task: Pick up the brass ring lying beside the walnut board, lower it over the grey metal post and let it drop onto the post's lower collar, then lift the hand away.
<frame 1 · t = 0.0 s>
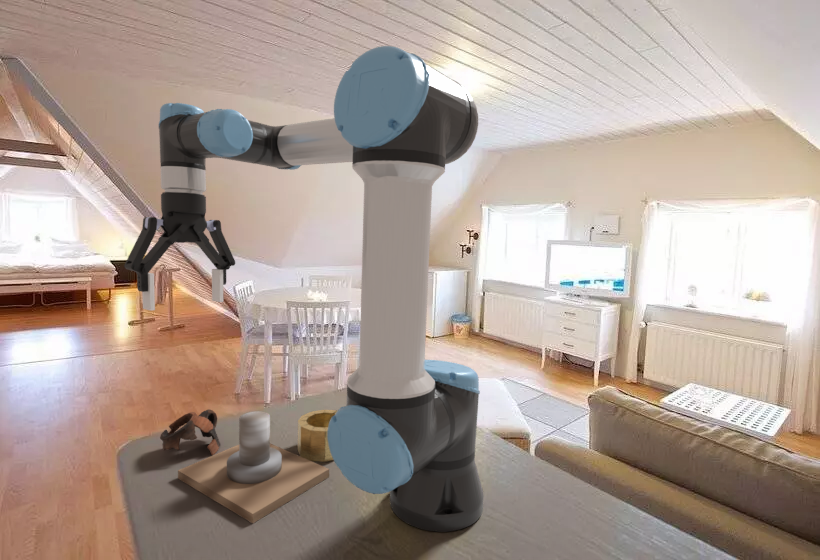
hand: (185, 305, 87), 28 cm above the table, tool pointing down, fingers open, 13 cm apart
brass ring: (324, 448, 90), on the table
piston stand: (254, 477, 79), on the table
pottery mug: (195, 449, 89), on the table
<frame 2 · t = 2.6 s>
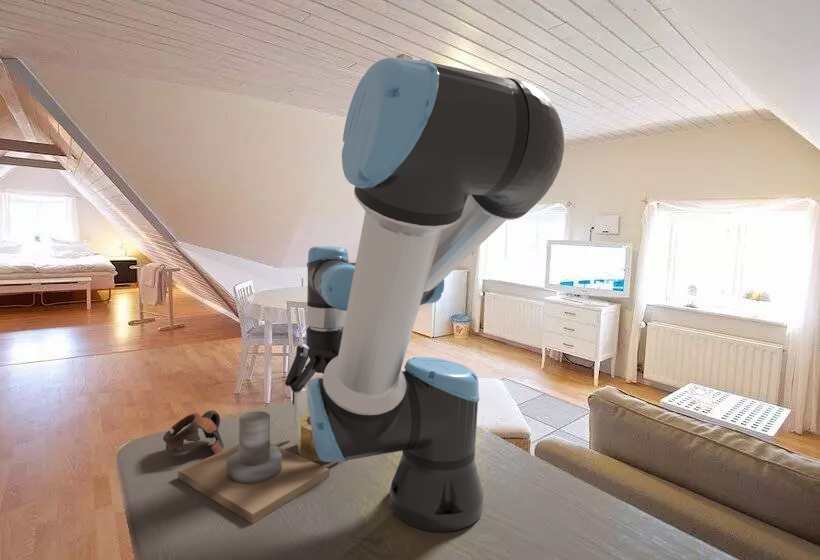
hand: (323, 430, 91), 4 cm above the table, tool pointing down, fingers open, 13 cm apart
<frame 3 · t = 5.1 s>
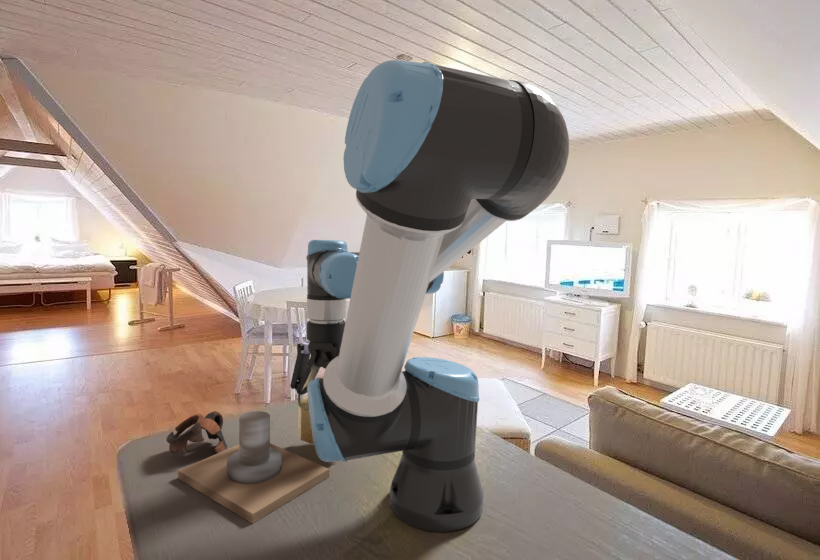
hand: (325, 431, 89), 4 cm above the table, tool pointing down, fingers closed on brass ring, 10 cm apart
brass ring: (324, 432, 89), point 4 cm above the table, touching gripper
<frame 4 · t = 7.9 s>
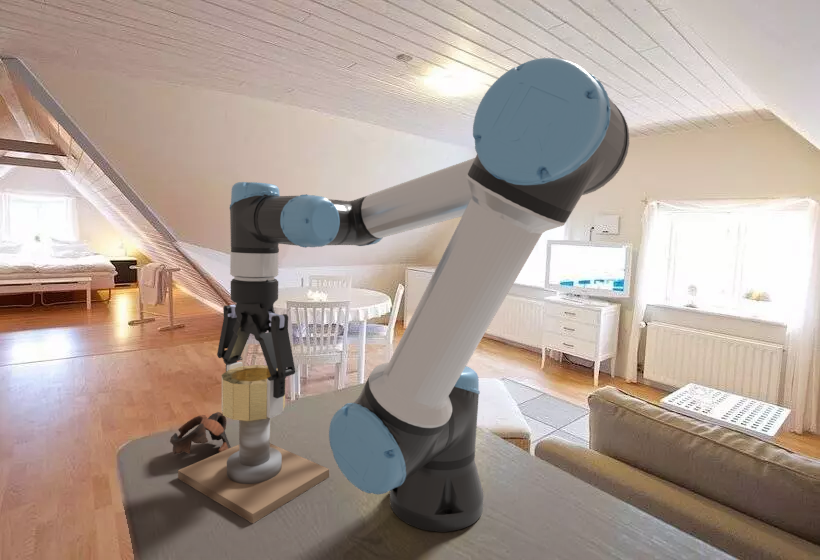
hand: (254, 406, 78), 13 cm above the table, tool pointing down, fingers closed on brass ring, 10 cm apart
brass ring: (253, 408, 78), point 13 cm above the table, touching gripper
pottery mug: (205, 452, 88), on the table, touching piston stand
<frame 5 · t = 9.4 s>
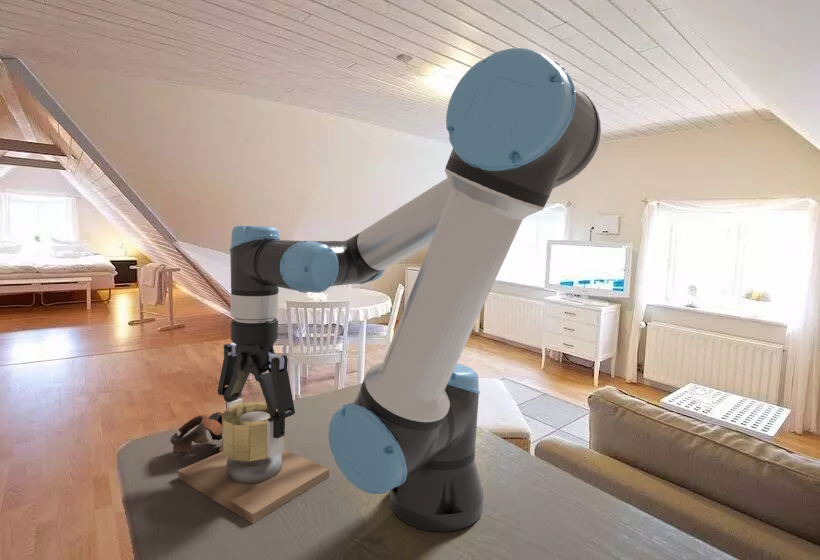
hand: (254, 444, 78), 6 cm above the table, tool pointing down, fingers closed on brass ring, 10 cm apart
brass ring: (253, 446, 78), point 6 cm above the table, touching gripper
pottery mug: (206, 452, 88), on the table
when the fingers open (4 cm above the table, at t = 10.8 s): brass ring stays where it is, resting on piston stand.
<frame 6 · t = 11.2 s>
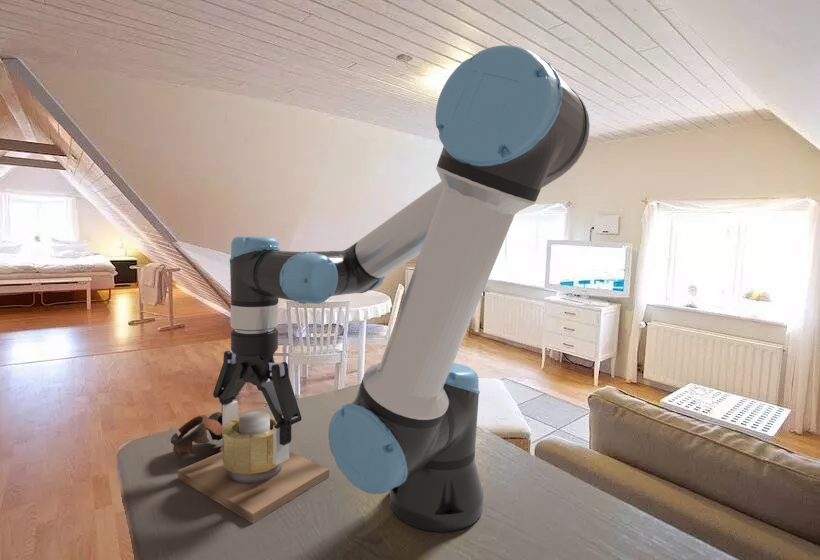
hand: (254, 449, 78), 5 cm above the table, tool pointing down, fingers open, 13 cm apart
brass ring: (254, 458, 79), point 3 cm above the table, touching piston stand
everything else where it was.
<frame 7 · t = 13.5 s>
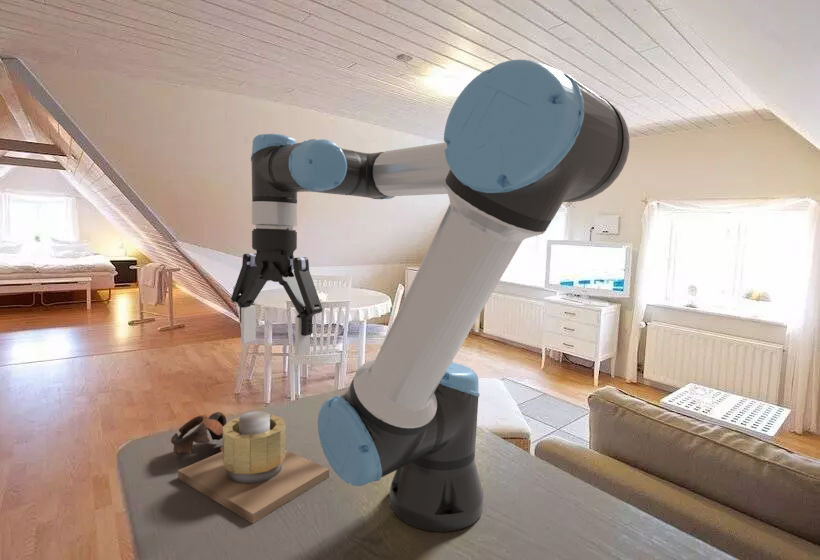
hand: (274, 347, 81), 22 cm above the table, tool pointing down, fingers open, 13 cm apart
nothing on the table moved.
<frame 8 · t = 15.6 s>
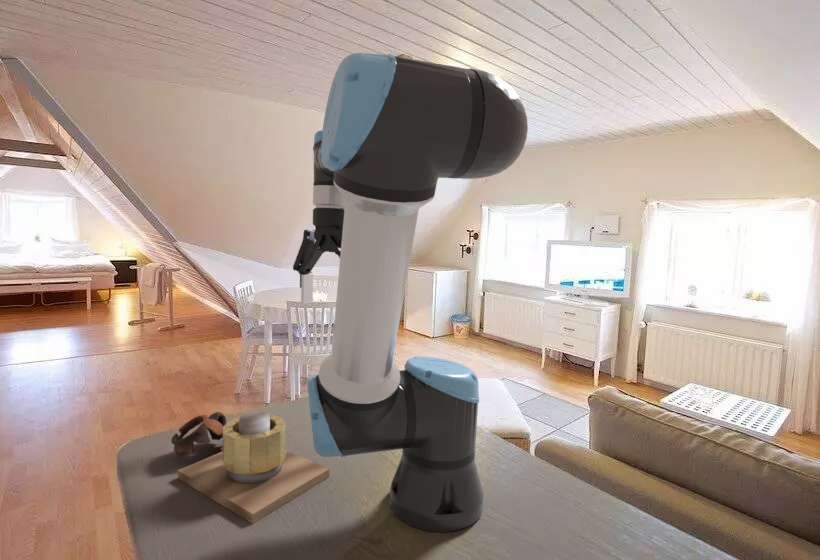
hand: (329, 307, 98), 27 cm above the table, tool pointing down, fingers open, 13 cm apart
nothing on the table moved.
at the end: brass ring 0.0 cm off-centre on the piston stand, point 3.5 cm above the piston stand's base; brass ring tilted 0°; the gripper is holding nothing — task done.
